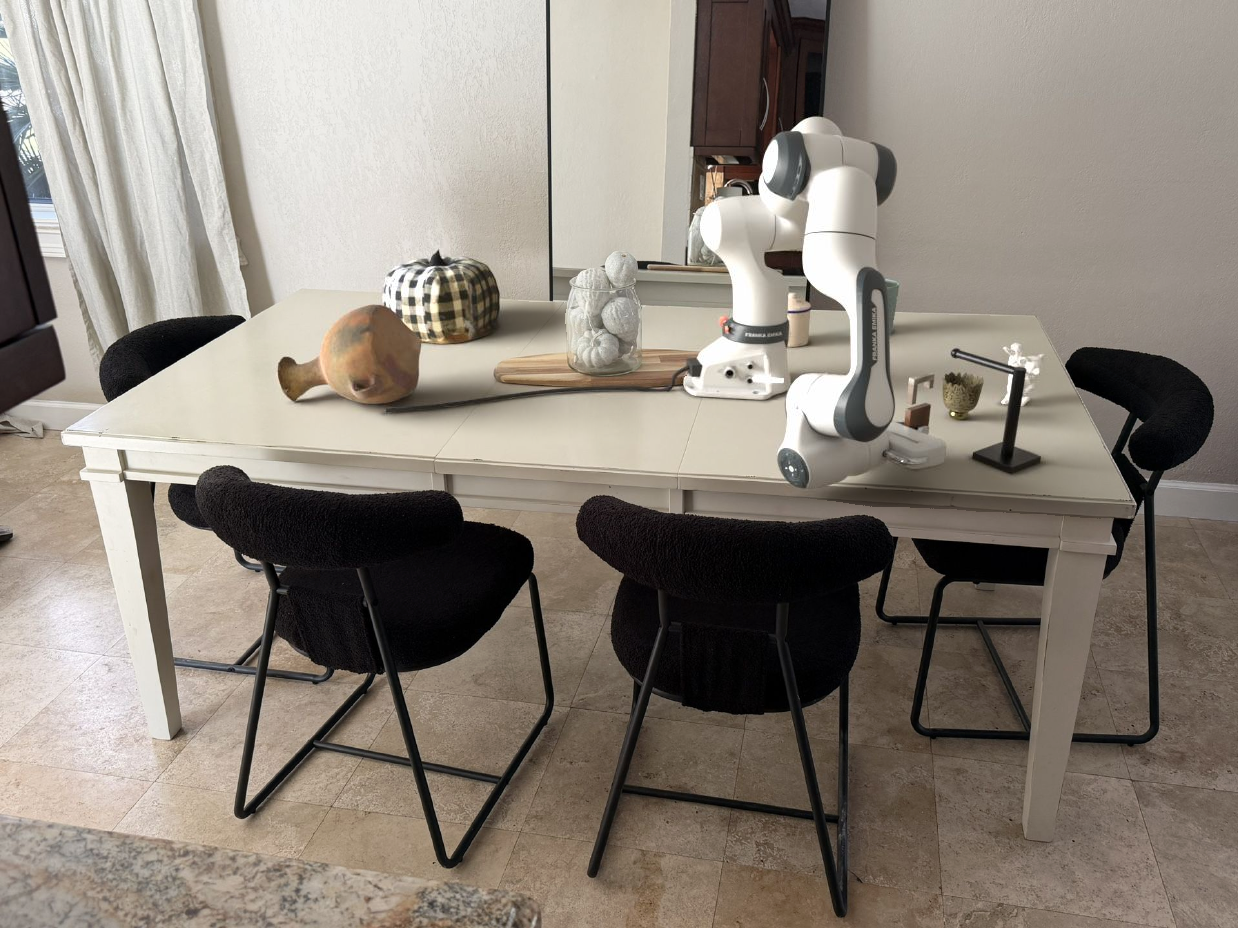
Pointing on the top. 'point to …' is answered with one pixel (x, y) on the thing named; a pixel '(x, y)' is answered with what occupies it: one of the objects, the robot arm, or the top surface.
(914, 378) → the hanger
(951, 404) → the cup
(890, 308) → the teal embossed pot
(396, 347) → the jug
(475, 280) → the decorative pumpkin
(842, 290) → the robot arm
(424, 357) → the top surface
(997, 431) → the top surface
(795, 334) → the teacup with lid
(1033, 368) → the white figurine
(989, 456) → the stand
